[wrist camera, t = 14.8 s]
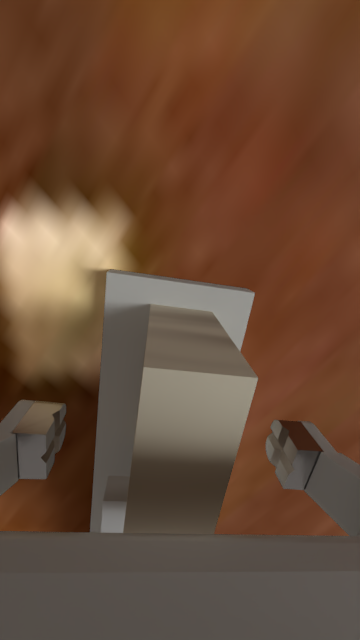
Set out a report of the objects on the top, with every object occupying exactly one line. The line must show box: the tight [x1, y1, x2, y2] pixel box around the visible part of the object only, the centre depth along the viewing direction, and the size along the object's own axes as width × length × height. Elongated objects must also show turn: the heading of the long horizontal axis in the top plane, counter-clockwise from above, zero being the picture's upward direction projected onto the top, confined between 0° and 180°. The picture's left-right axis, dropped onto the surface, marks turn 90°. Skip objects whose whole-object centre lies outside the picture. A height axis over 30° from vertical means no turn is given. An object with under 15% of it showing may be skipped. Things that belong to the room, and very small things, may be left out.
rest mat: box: [90, 269, 255, 533], centre depth 15 cm, size 20×7×1 cm, turn 171°
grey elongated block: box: [101, 304, 258, 534], centre depth 12 cm, size 17×5×6 cm, turn 171°
